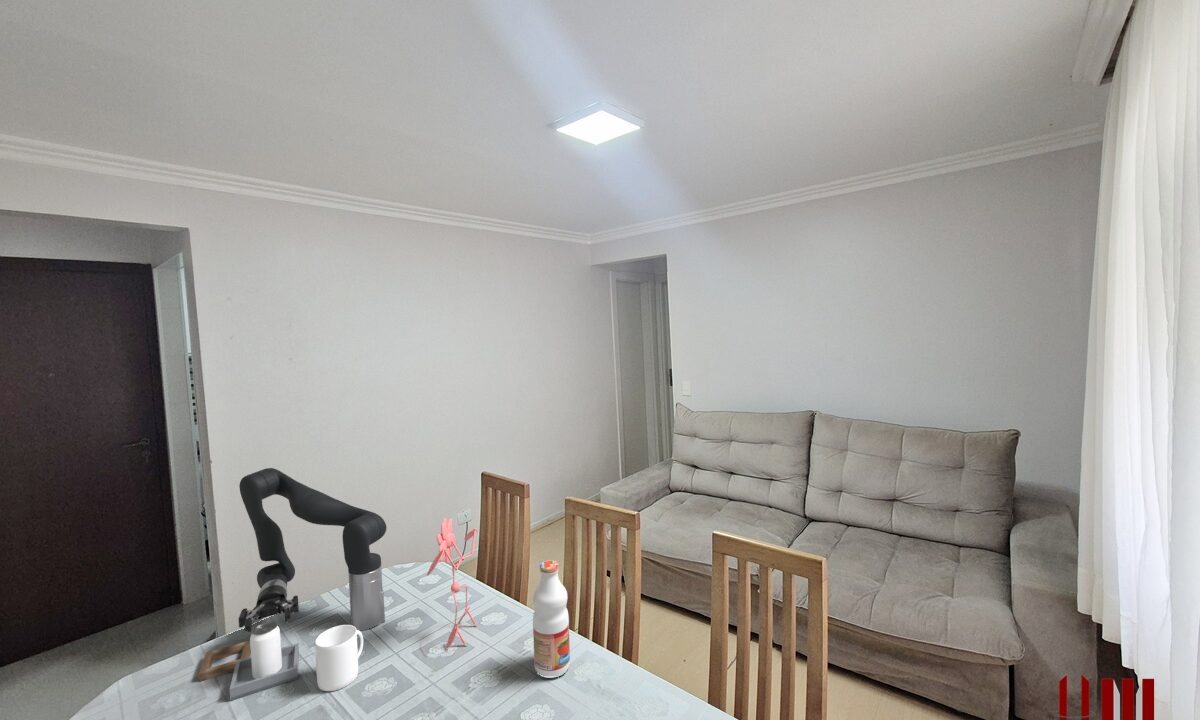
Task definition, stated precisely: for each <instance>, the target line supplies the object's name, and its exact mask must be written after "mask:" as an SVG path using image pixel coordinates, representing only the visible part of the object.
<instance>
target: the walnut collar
mask: <svg viewBox="0 0 1200 720" xmlns="http://www.w3.org/2000/svg"><path fill="white" fill-rule="evenodd" d="M237 654H241V657H240V658H239V659H236V660H232V661H229V662H225V663H222V664H218V665H216V666H215V665H214V666H212V664H213V661H216V660H220V659H224V658H226V657H230V656H233V655H237ZM249 657H251V648H250V639H249V640H246V641H242V642H239V643H236V644H232V645H228V646H225V647H221V648H217V649H214V650H211V651H208V652H207V651H206V653H205V655H204V658H203V661H202V664H201V667H200V670H199V672H198V682H199V683H201V682H203V681H206V680H210V679H213V678H216V677H219V676H223V675H226V674H230V673H232V672H233V673H234V670H235V666H236V662H237V661H239V660H242V659H246V658H249Z"/></svg>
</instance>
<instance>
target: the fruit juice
mask: <svg viewBox="0 0 1200 720" xmlns="http://www.w3.org/2000/svg"><path fill="white" fill-rule="evenodd" d="M559 568H560V565H559V562H558V561H556V560H552V559H550V560H545V561H542V562H541V563H540V564H539V573H541V576H540V580H539V584H537V585H538V586H536V588H535V590H534V592H533V594H532V605H533V608H534V611H533V615H532V631H533V632H532V633H533V635H532V636H533V663H534V664H533V665H534V671H535V670H536V671H537V672H538V673H539V674H541V675H543V676H557V675H559V674H561V673H563V672H565V671H566V670H567V669H568V667H569V668H570V666H569V665H571V664H570V662H571V653H570V651H571V650H570V617H569V611H568V608H567V603H568V591H567V588H566V587H565V585H563V584H562V583H561V580H560V577H559V575H558V573H559ZM568 670H569V669H568ZM536 671H535V672H536Z"/></svg>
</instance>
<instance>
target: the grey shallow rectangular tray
mask: <svg viewBox="0 0 1200 720" xmlns="http://www.w3.org/2000/svg"><path fill="white" fill-rule="evenodd" d="M299 645H300V644H299V642H297V643H294V644H291V645H288V646H283V647H281V654H282V668H281V669H280V671H279V672H277V673H274V674H271V675H267V676H264V677H261V678H258V679H254V678H253V676H252V663H251V656H250V657H249V658H246V659H242V660H239V659H238V660H239V661H237V662H236V666H235V670H234V671H233V674H232V678H231V682H230V686H229V700H230V702H232V701H234V700H237V699H241V698H244V697H247V696H250V695H253V694H256V693H260V692H263V691H265V690H268V689H273V688H274V687H278V686H281V685H283V684H287V683H290V682H293V681H296V680H298V678H299V664H300V662H299V661H300V646H299Z"/></svg>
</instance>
